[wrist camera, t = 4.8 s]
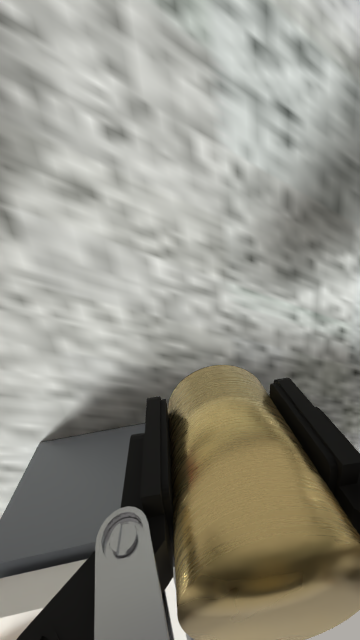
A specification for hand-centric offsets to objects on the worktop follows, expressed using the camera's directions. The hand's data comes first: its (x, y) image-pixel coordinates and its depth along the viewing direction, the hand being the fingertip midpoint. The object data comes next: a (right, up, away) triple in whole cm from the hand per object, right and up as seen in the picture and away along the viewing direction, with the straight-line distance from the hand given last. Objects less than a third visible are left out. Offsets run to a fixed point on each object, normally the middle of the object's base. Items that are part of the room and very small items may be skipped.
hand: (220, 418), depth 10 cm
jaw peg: (0, 0, +1) cm, 1 cm away
